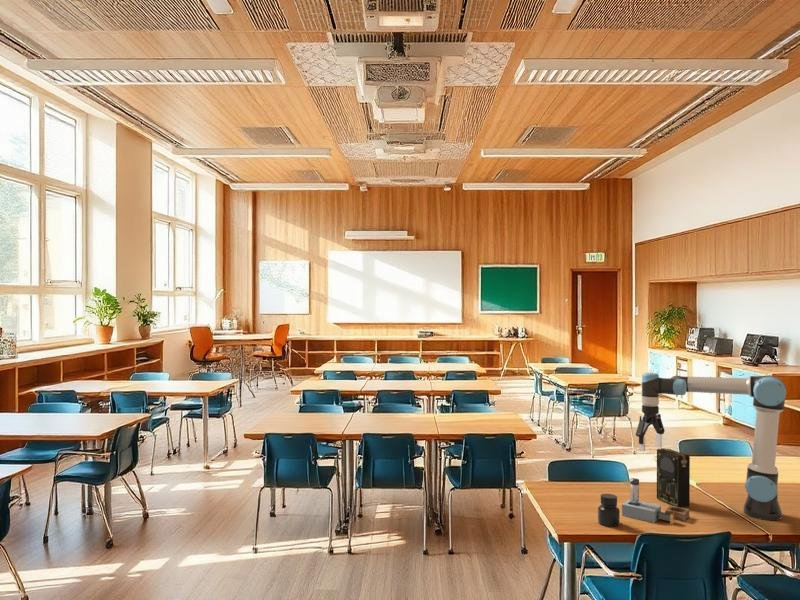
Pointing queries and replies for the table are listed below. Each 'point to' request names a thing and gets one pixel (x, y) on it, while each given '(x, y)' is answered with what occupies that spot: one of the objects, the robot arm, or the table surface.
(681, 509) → the rack
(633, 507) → the socket block
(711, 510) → the table surface
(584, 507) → the table surface
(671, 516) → the drift key
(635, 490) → the drill peg
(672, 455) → the black hard drive
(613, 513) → the ink bottle
